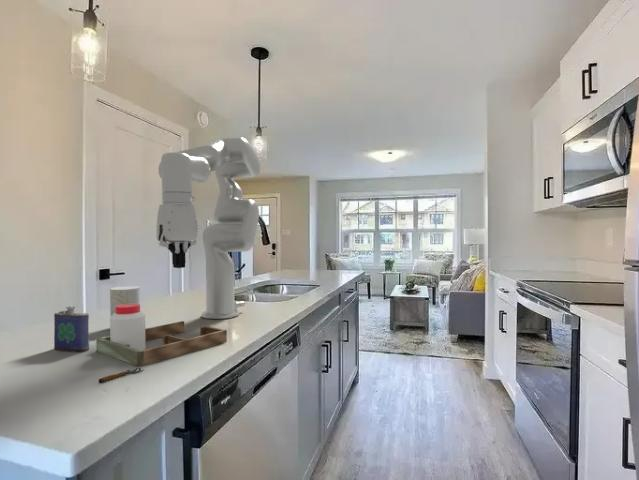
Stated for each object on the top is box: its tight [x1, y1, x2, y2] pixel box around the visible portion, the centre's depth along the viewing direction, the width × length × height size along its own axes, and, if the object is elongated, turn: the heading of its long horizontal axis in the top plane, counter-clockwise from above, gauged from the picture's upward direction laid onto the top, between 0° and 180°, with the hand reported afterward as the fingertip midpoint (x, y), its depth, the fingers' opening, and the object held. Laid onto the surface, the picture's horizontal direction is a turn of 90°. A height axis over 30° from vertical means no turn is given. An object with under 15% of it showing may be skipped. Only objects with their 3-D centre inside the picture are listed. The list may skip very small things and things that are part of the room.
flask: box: [53, 306, 90, 353], centre depth 97 cm, size 9×3×11 cm, turn 78°
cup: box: [109, 285, 141, 318], centre depth 120 cm, size 8×8×12 cm
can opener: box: [98, 366, 145, 384], centre depth 79 cm, size 9×2×1 cm, turn 142°
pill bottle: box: [109, 303, 147, 351], centre depth 96 cm, size 8×8×11 cm
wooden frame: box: [95, 320, 228, 367], centre depth 100 cm, size 24×19×3 cm
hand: (179, 267), depth 108 cm, fingers closed
